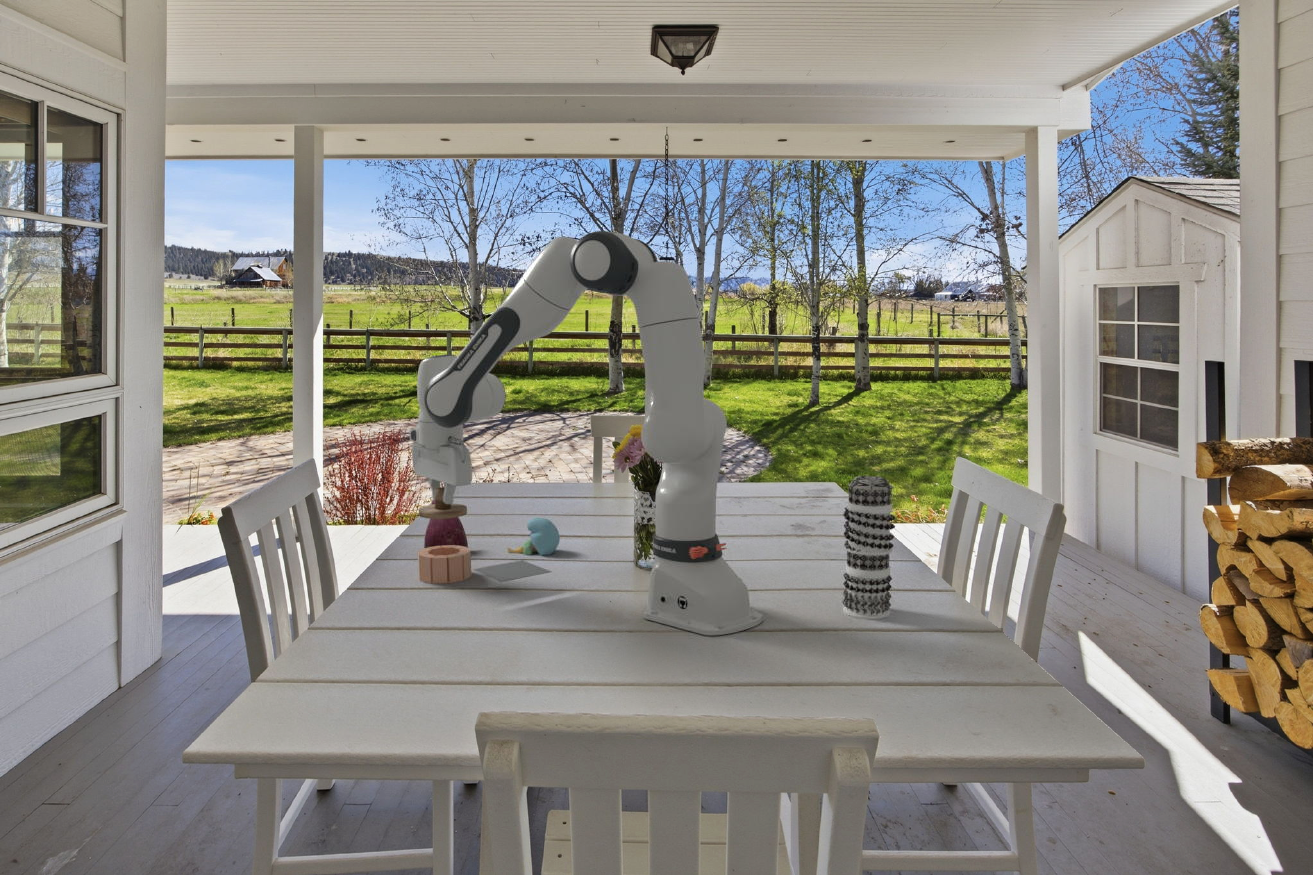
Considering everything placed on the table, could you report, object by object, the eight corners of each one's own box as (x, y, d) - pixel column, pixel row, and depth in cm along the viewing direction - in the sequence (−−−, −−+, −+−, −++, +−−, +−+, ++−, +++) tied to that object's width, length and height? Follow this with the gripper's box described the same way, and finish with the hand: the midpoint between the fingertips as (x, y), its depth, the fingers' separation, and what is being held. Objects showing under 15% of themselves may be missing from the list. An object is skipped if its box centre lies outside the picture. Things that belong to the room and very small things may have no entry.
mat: (551, 575, 188) (551, 571, 188) (501, 585, 180) (501, 581, 180) (522, 563, 197) (522, 560, 197) (473, 572, 190) (473, 569, 190)
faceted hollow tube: (480, 580, 184) (479, 552, 183) (431, 590, 177) (430, 560, 176) (457, 569, 192) (456, 542, 191) (409, 578, 185) (408, 550, 184)
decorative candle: (831, 613, 163) (835, 478, 160) (854, 601, 170) (858, 472, 167) (878, 623, 158) (883, 484, 154) (900, 610, 165) (904, 477, 162)
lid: (475, 514, 182) (474, 489, 182) (431, 520, 176) (430, 495, 176) (453, 507, 190) (453, 483, 189) (411, 513, 184) (410, 488, 183)
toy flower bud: (507, 517, 207) (559, 513, 207) (511, 554, 208) (562, 551, 208) (501, 524, 200) (555, 520, 199) (505, 562, 201) (558, 558, 200)
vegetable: (417, 569, 205) (397, 507, 203) (448, 553, 213) (428, 494, 212) (451, 564, 199) (430, 500, 198) (480, 548, 208) (460, 487, 206)
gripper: (479, 438, 175) (480, 507, 177) (433, 429, 191) (435, 492, 192) (449, 441, 171) (451, 511, 173) (405, 431, 187) (407, 496, 188)
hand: (442, 501), depth 183 cm, fingers closed on lid, 3 cm apart
